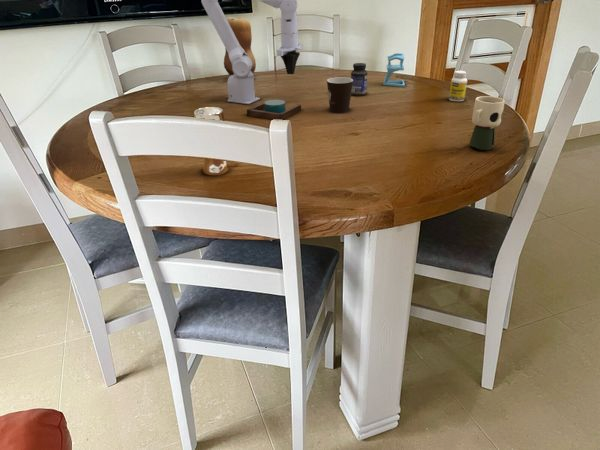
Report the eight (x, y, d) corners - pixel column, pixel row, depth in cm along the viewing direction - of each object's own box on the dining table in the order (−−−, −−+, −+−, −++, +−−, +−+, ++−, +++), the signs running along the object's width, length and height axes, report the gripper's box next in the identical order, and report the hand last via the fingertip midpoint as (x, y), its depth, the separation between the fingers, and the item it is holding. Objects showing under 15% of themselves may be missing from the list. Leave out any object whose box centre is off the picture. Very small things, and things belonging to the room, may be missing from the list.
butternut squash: (263, 78, 202) (259, 16, 190) (243, 84, 192) (238, 19, 180) (238, 74, 209) (233, 14, 196) (218, 81, 199) (212, 18, 187)
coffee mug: (350, 114, 153) (351, 83, 148) (324, 113, 154) (324, 82, 149) (354, 104, 162) (355, 75, 157) (329, 103, 164) (330, 75, 159)
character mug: (482, 156, 118) (491, 106, 112) (457, 149, 123) (465, 100, 117) (504, 146, 124) (514, 98, 118) (480, 139, 129) (488, 93, 123)
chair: (383, 82, 191) (385, 51, 185) (403, 82, 190) (406, 51, 184) (383, 86, 184) (385, 55, 178) (404, 87, 183) (407, 55, 177)
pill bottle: (367, 96, 172) (368, 65, 167) (350, 96, 172) (352, 65, 167) (365, 92, 178) (367, 62, 172) (349, 92, 178) (350, 62, 172)
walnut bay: (247, 115, 154) (246, 109, 153) (268, 105, 164) (268, 100, 163) (281, 120, 148) (281, 114, 147) (301, 110, 158) (301, 104, 157)
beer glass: (203, 166, 117) (195, 107, 109) (230, 164, 117) (224, 105, 110) (200, 177, 111) (191, 115, 103) (229, 175, 111) (222, 114, 104)
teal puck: (260, 114, 155) (260, 103, 153) (272, 108, 160) (271, 98, 159) (278, 116, 152) (278, 106, 150) (289, 111, 157) (289, 101, 156)
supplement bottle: (447, 101, 164) (451, 72, 159) (449, 97, 168) (453, 69, 163) (463, 102, 162) (468, 73, 157) (465, 98, 166) (469, 70, 162)
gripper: (288, 36, 151) (290, 79, 158) (309, 30, 162) (310, 70, 169) (270, 35, 154) (272, 77, 161) (292, 30, 165) (293, 69, 172)
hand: (290, 73), depth 165 cm, fingers closed
